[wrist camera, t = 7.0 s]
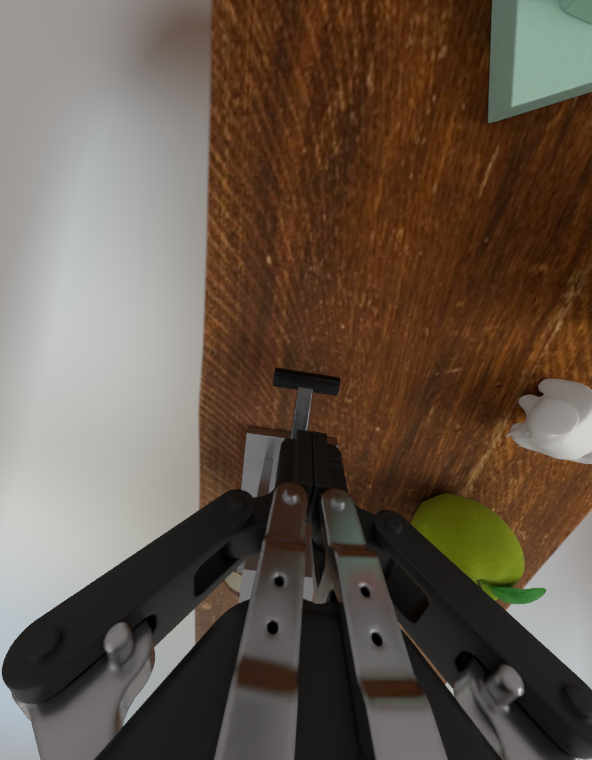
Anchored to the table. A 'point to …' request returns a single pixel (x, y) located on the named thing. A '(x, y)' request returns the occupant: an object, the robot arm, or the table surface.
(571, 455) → the elephant figurine
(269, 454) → the bracket
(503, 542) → the fruit
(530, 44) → the button box
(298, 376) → the lever
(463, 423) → the table surface
